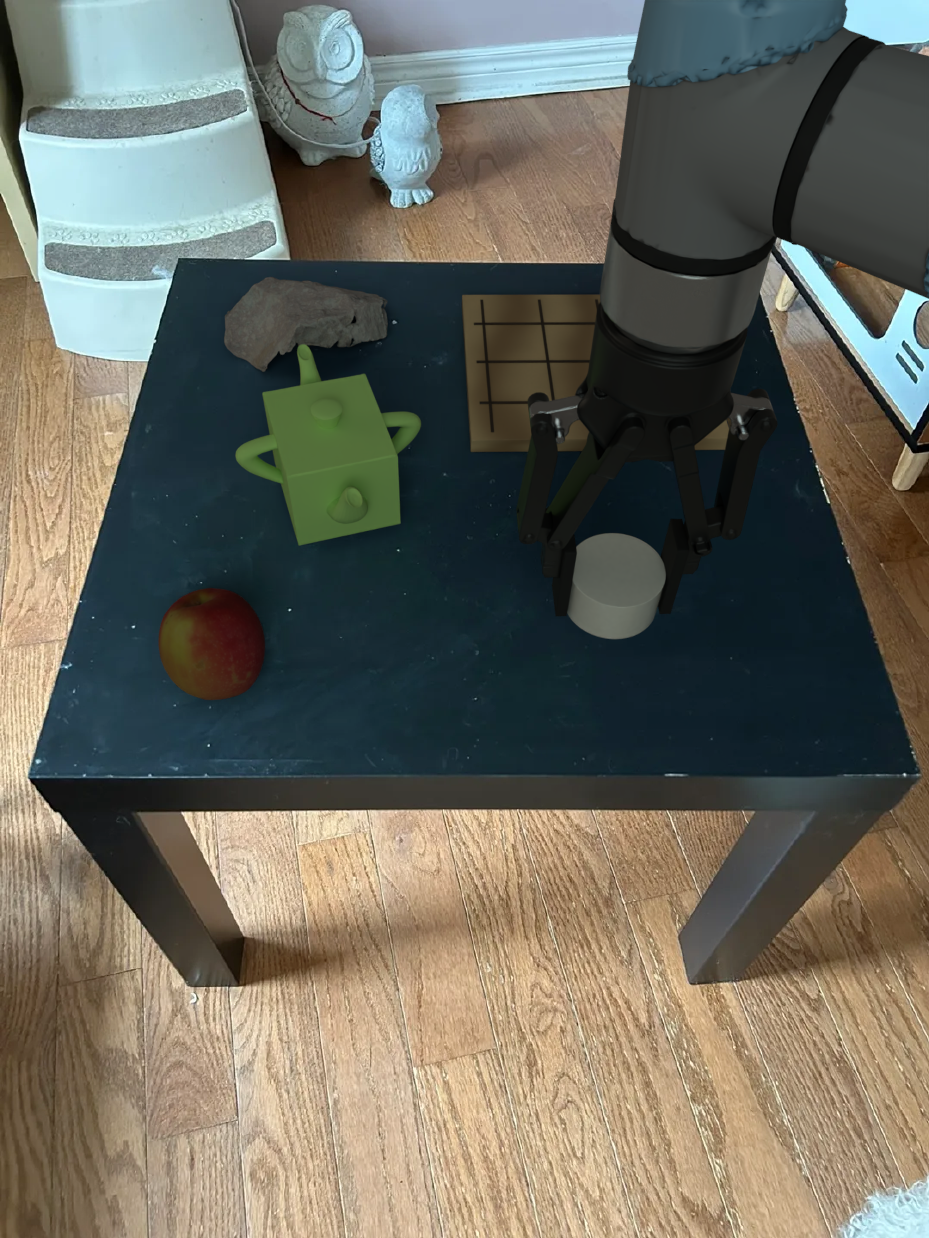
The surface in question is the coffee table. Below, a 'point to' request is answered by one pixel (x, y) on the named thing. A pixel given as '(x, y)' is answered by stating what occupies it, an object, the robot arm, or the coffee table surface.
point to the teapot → (331, 454)
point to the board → (530, 365)
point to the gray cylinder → (615, 586)
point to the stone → (300, 319)
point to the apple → (212, 644)
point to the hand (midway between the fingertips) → (610, 599)
